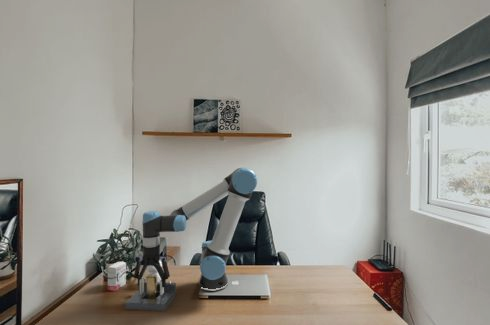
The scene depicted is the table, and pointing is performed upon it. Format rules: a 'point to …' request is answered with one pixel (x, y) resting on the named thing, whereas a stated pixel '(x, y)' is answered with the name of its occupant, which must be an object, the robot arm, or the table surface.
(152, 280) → the sleeve
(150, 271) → the cat figurine
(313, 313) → the table surface
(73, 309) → the table surface
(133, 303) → the jig
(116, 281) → the ink box
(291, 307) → the table surface
